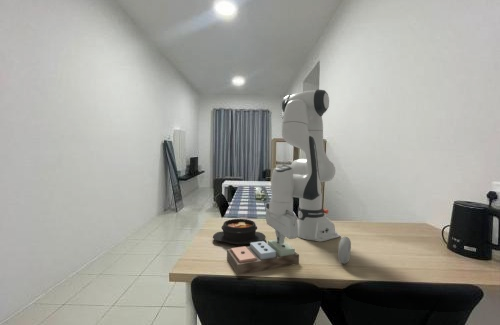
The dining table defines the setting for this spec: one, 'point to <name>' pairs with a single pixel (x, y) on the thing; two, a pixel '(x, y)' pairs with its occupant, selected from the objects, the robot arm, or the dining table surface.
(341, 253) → the donut
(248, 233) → the casserole
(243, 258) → the counting block
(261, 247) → the counting block
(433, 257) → the dining table surface
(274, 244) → the counting block
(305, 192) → the robot arm
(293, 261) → the wooden counting block tray
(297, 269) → the dining table surface
